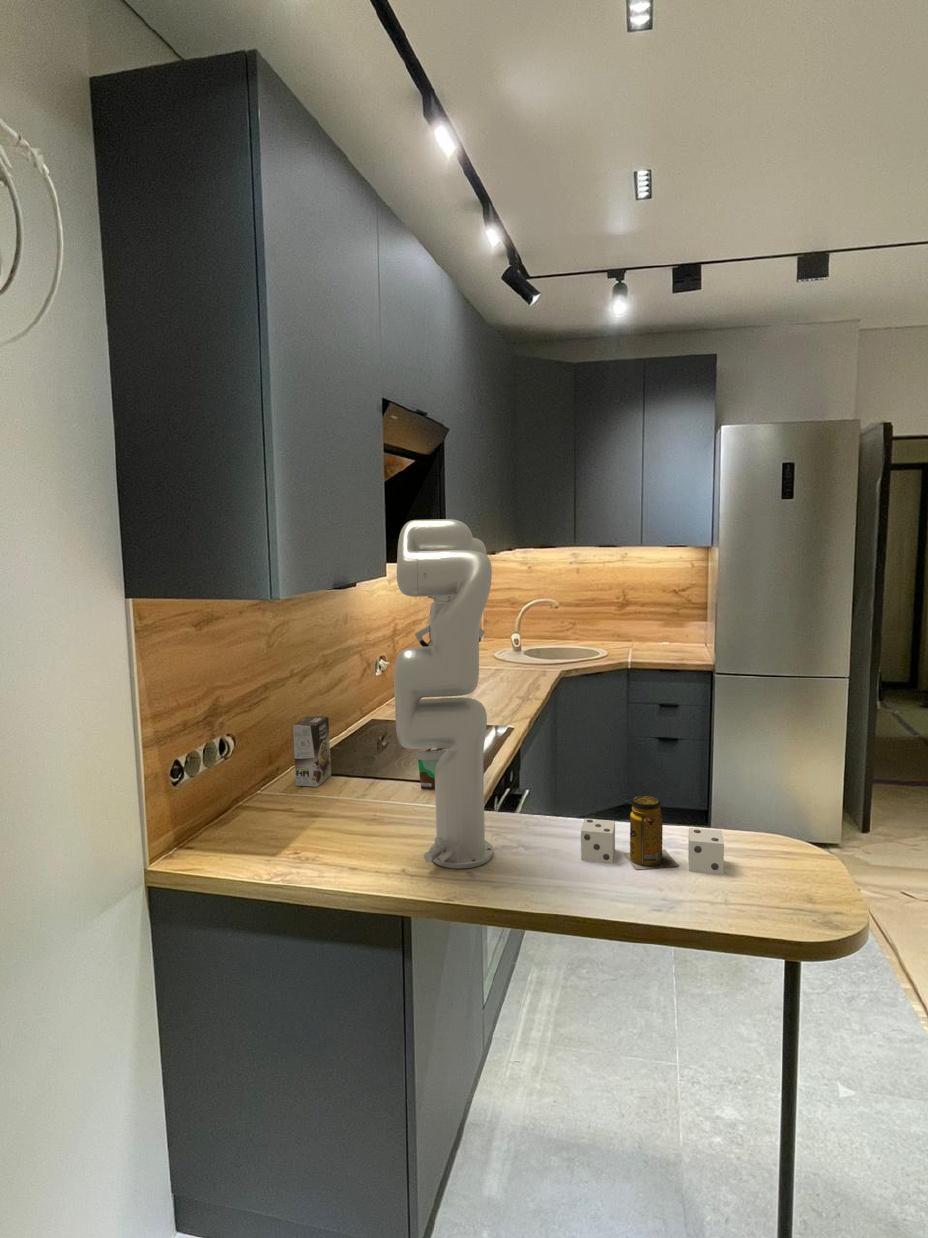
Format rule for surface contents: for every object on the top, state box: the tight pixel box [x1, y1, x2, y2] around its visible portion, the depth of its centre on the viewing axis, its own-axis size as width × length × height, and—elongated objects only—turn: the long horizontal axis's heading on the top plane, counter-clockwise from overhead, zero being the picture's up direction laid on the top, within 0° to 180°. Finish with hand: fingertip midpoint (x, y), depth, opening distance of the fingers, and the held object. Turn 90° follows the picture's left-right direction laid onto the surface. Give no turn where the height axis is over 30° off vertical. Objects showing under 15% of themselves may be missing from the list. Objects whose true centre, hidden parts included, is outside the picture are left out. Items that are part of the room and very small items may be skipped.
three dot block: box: [580, 818, 616, 864], centre depth 141 cm, size 6×6×6 cm
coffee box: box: [292, 715, 332, 788], centre depth 187 cm, size 9×6×16 cm
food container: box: [415, 748, 447, 791], centre depth 181 cm, size 12×6×10 cm, turn 143°
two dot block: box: [687, 827, 725, 876], centre depth 135 cm, size 6×6×6 cm
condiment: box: [623, 795, 680, 870], centre depth 138 cm, size 7×8×12 cm
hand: (450, 665), depth 180 cm, fingers open, 9 cm apart
